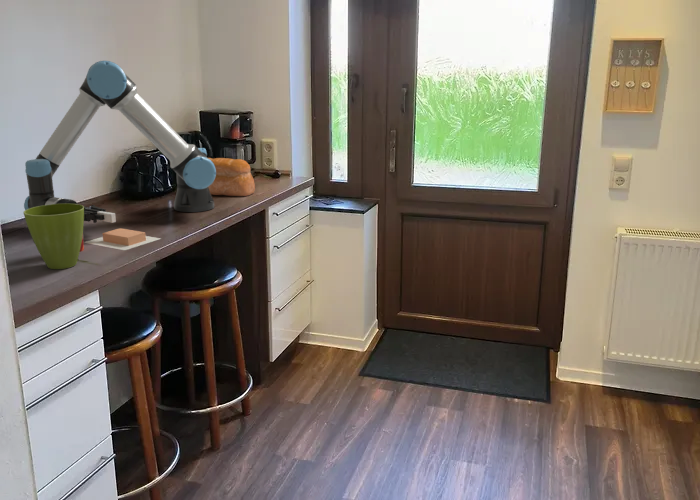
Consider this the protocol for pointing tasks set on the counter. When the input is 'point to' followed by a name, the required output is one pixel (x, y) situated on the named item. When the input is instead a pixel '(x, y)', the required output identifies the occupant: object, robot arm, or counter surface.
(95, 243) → the mat
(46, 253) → the flower pot
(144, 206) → the counter surface
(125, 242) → the card box
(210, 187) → the bread
